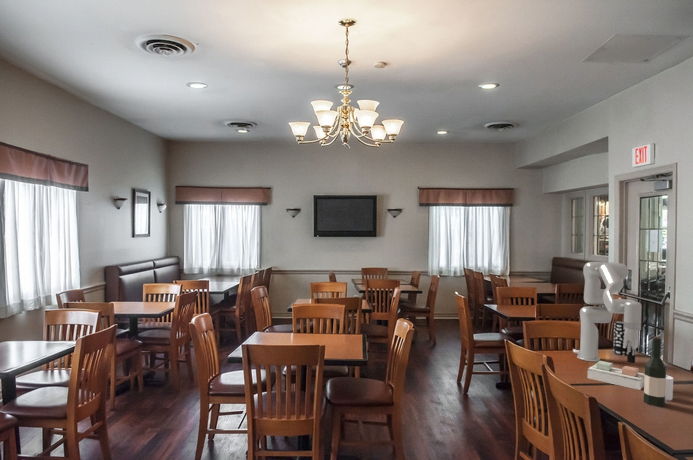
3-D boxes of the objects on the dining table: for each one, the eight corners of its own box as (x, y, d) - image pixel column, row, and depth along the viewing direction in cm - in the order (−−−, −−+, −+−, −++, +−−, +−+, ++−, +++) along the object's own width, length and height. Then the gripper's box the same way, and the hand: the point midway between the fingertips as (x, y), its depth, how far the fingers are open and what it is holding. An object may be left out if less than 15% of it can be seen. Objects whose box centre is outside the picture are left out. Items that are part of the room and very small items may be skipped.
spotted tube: (624, 352, 310) (625, 321, 310) (630, 356, 302) (631, 324, 302) (610, 351, 311) (611, 320, 311) (616, 355, 303) (617, 323, 302)
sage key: (596, 368, 253) (596, 362, 253) (599, 366, 258) (600, 360, 258) (608, 371, 249) (609, 365, 249) (612, 368, 254) (612, 363, 254)
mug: (674, 401, 221) (675, 380, 221) (652, 398, 225) (653, 377, 224) (668, 393, 232) (669, 373, 232) (647, 390, 236) (648, 370, 236)
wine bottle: (662, 401, 221) (664, 336, 221) (667, 407, 213) (670, 339, 213) (641, 398, 224) (643, 334, 223) (645, 404, 216) (648, 337, 215)
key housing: (587, 378, 253) (587, 368, 253) (595, 372, 263) (596, 363, 263) (639, 390, 236) (640, 379, 236) (646, 383, 246) (646, 374, 246)
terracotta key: (621, 373, 245) (622, 368, 245) (625, 371, 250) (625, 365, 250) (635, 376, 241) (635, 370, 241) (638, 374, 245) (638, 368, 245)
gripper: (627, 323, 253) (626, 358, 253) (619, 326, 242) (618, 363, 242) (644, 325, 248) (643, 361, 248) (637, 329, 237) (635, 366, 237)
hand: (631, 362), depth 245 cm, fingers closed
